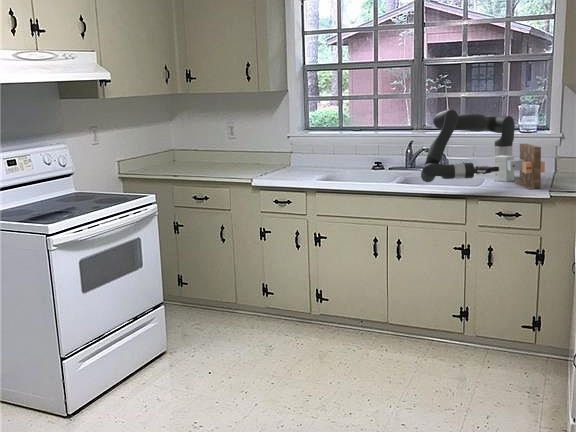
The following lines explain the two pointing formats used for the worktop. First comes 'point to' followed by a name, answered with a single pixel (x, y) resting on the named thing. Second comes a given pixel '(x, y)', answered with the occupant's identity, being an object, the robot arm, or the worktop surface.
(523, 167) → the button two
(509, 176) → the small box
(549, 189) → the worktop surface
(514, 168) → the button one
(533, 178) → the walnut board
